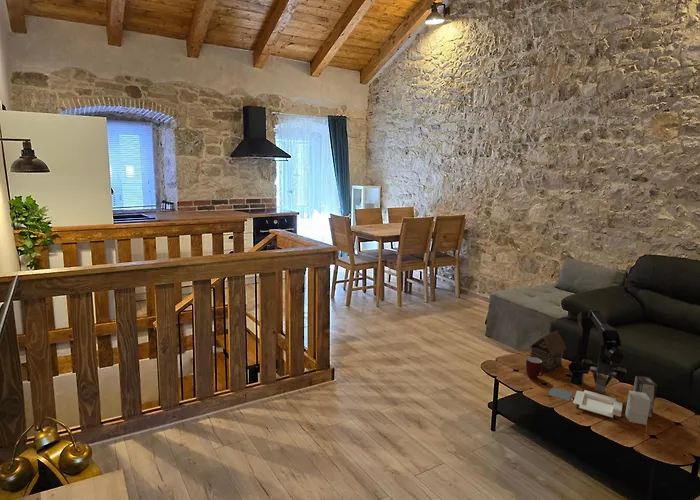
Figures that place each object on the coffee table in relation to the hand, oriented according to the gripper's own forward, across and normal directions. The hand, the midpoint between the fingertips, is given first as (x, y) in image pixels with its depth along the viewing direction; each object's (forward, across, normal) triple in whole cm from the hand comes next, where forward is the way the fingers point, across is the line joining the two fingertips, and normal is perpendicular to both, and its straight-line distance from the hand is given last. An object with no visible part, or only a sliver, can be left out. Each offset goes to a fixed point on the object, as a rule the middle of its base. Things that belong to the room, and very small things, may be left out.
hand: (600, 384), depth 223 cm
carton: (+12, 0, 0) cm, 12 cm away
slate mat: (+12, -17, +2) cm, 21 cm away
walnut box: (+2, 0, 0) cm, 2 cm away
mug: (+12, -32, +14) cm, 37 cm away
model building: (+12, -30, +35) cm, 48 cm away
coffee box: (+12, +18, +9) cm, 23 cm away
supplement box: (+12, +16, -2) cm, 20 cm away
